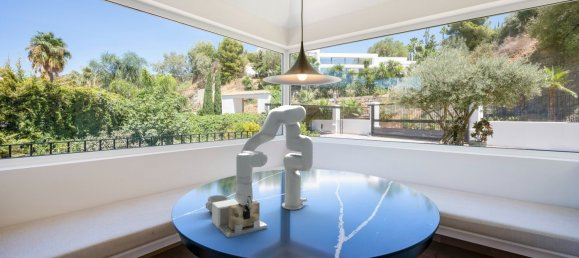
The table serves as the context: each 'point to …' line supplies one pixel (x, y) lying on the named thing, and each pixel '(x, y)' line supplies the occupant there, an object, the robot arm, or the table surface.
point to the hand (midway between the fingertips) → (244, 217)
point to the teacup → (214, 200)
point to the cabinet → (222, 211)
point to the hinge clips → (241, 228)
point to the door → (237, 215)
